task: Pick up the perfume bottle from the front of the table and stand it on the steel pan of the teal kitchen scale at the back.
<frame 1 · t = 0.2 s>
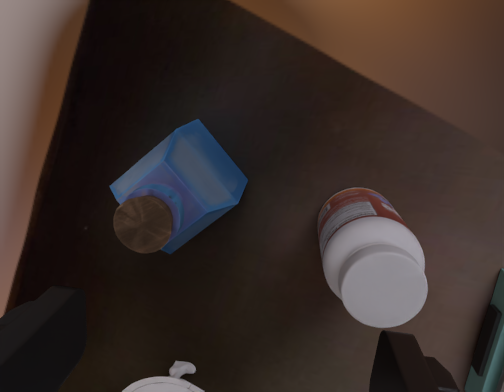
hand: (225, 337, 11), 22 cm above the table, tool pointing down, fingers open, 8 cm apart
perfume bottle: (195, 172, 33), on the table
figurine: (188, 373, 39), on the table
pill bottle: (354, 221, 33), on the table
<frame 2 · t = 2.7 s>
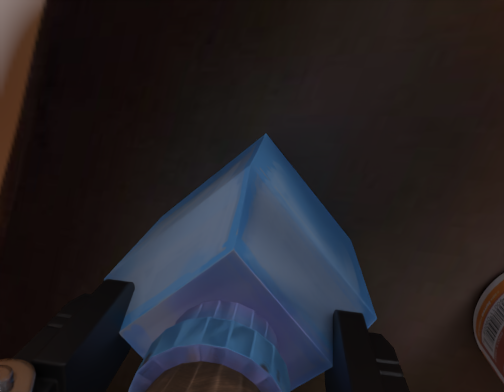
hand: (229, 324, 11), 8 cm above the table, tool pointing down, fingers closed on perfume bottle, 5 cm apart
perfume bottle: (255, 226, 19), on the table, touching gripper
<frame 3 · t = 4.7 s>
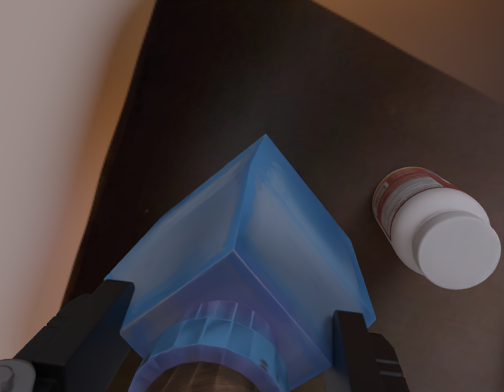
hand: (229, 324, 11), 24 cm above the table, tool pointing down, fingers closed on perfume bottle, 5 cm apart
perfume bottle: (255, 226, 19), point 16 cm above the table, touching gripper
pill bottle: (407, 199, 35), on the table
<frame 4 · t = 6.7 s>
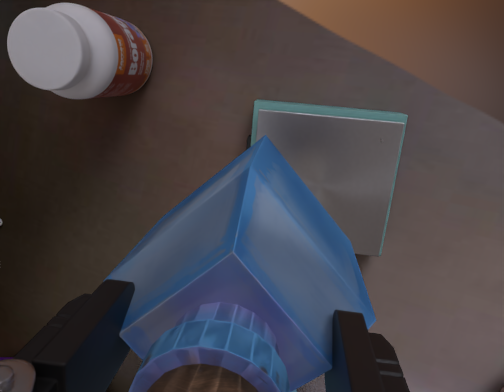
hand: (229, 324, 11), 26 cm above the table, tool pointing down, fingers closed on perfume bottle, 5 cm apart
scale: (318, 174, 36), on the table
perfume bottle: (255, 227, 19), point 18 cm above the table, touching gripper
pill bottle: (120, 57, 35), on the table
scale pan: (320, 184, 33), point 4 cm above the table, slide at 0.0 cm
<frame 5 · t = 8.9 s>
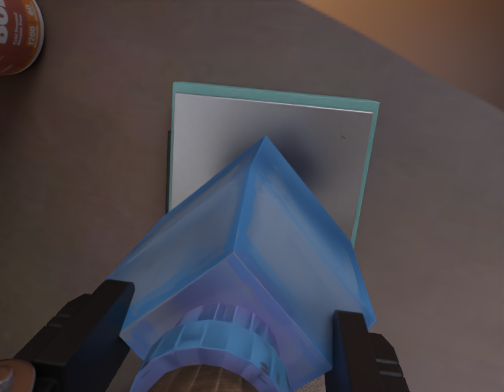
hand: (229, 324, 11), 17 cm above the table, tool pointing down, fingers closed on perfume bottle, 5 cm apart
scale: (266, 181, 27), on the table
perfume bottle: (255, 227, 19), point 9 cm above the table, touching gripper
pill bottle: (4, 25, 26), on the table
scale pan: (263, 196, 24), point 4 cm above the table, slide at 0.0 cm
when the fingers open (11 cm above the table, at t = 10.7 s): perfume bottle stays where it is, resting on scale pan.
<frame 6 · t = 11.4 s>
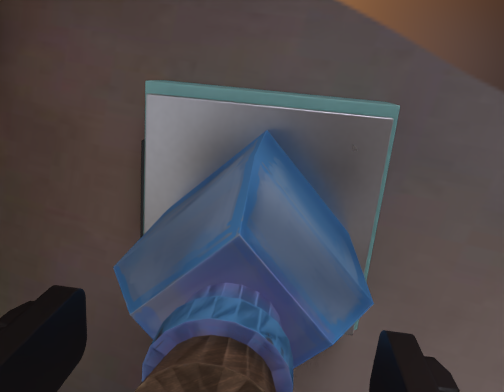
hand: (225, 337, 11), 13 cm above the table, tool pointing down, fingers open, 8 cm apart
scale: (261, 199, 23), on the table
perfume bottle: (257, 219, 20), point 4 cm above the table, touching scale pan
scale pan: (256, 220, 20), point 3 cm above the table, slide at 0.0 cm, touching perfume bottle, scale
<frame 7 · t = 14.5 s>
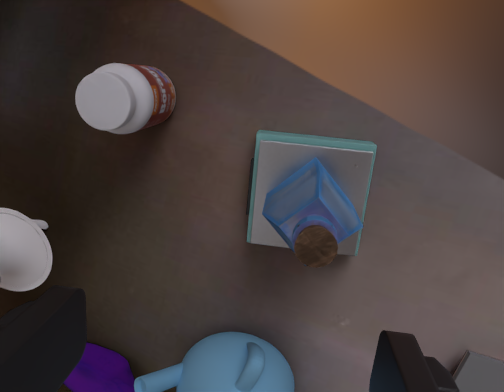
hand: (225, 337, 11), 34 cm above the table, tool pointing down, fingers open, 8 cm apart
scale: (307, 189, 45), on the table
perfume bottle: (309, 198, 41), point 4 cm above the table, touching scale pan
teapot: (236, 369, 53), on the table
figurine: (43, 231, 50), on the table
purple teardrop shape: (94, 354, 54), on the table
pill bottle: (149, 95, 44), on the table
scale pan: (308, 199, 41), point 3 cm above the table, slide at 0.0 cm, touching perfume bottle, scale
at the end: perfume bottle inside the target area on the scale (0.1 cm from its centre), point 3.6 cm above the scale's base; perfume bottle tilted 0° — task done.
